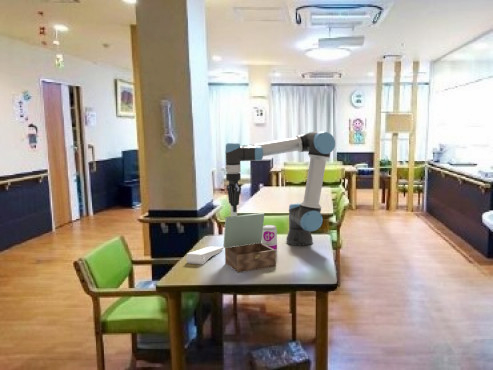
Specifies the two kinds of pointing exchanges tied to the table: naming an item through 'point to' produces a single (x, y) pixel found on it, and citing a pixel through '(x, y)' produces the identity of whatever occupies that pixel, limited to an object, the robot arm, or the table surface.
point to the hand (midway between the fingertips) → (234, 217)
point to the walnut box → (250, 257)
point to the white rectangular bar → (202, 255)
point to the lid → (243, 230)
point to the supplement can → (270, 236)
